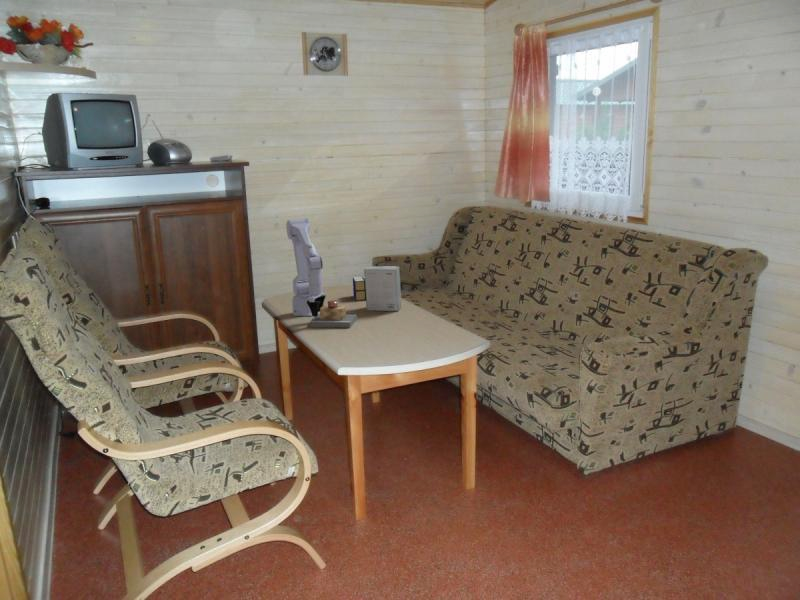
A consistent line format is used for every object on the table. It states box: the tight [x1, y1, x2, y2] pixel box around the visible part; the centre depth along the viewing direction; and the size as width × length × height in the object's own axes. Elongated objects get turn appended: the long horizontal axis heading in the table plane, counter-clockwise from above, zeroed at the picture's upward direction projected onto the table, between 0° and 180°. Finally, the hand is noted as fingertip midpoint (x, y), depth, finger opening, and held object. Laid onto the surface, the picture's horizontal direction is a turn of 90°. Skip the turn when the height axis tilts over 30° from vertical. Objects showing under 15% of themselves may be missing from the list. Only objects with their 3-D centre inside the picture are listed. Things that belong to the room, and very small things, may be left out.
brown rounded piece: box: [327, 300, 338, 308], centre depth 283 cm, size 4×4×2 cm
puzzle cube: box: [352, 275, 366, 301], centre depth 327 cm, size 10×10×10 cm
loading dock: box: [309, 313, 357, 329], centre depth 284 cm, size 18×12×3 cm, turn 81°
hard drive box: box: [363, 265, 402, 312], centre depth 303 cm, size 16×8×20 cm, turn 74°
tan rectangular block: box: [320, 304, 347, 320], centre depth 283 cm, size 10×6×5 cm, turn 81°
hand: (317, 313), depth 285 cm, fingers open, 7 cm apart
